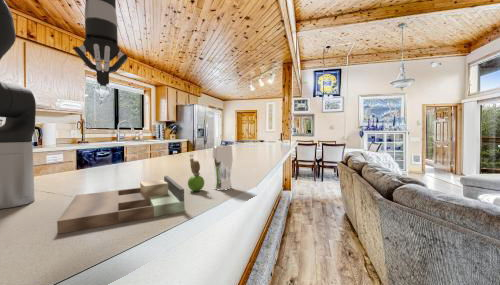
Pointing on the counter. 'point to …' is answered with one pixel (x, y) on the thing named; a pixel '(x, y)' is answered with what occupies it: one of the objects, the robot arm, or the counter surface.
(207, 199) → the counter surface
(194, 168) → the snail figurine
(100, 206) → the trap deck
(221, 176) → the beer glass
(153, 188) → the block
